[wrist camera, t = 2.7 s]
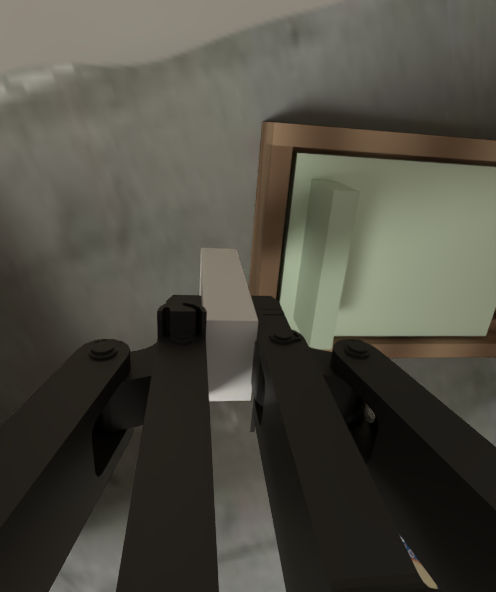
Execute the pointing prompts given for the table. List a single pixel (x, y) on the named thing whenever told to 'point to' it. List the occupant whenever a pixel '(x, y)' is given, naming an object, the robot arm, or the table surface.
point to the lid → (387, 248)
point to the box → (353, 142)
